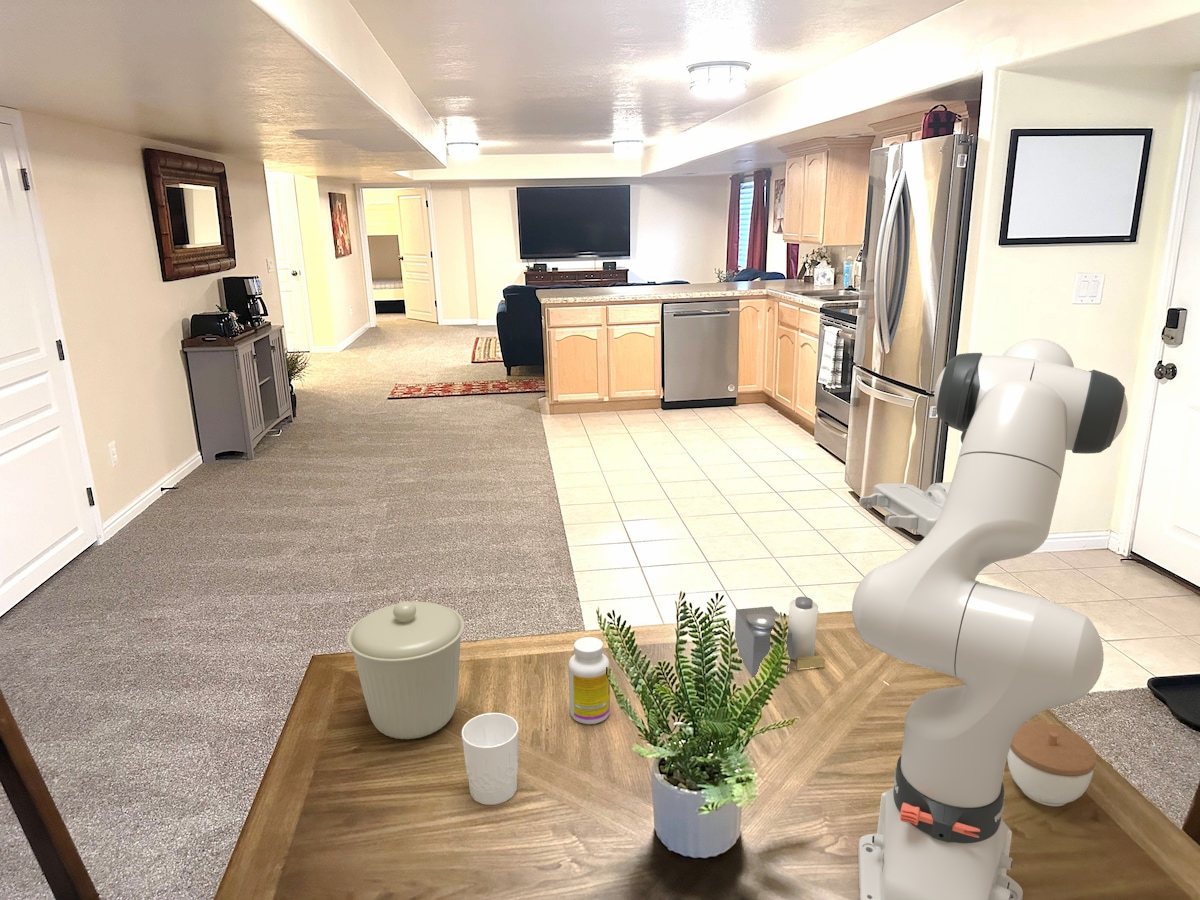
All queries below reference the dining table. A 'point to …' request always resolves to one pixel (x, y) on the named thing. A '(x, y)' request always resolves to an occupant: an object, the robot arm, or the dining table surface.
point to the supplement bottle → (589, 682)
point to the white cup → (491, 757)
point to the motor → (763, 639)
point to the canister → (408, 666)
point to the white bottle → (803, 626)
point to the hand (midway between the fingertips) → (873, 511)
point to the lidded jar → (1051, 763)
